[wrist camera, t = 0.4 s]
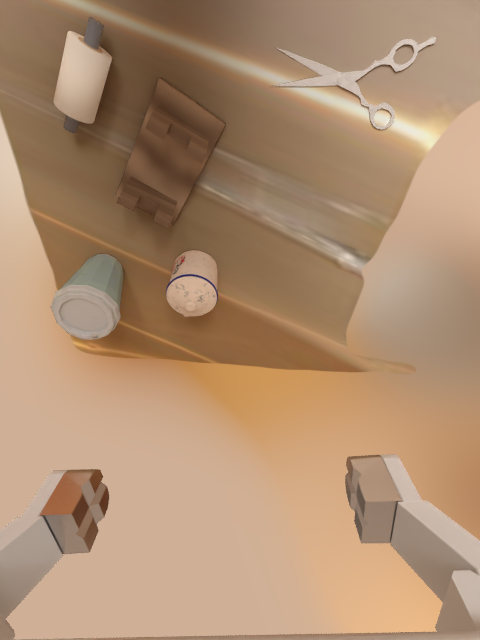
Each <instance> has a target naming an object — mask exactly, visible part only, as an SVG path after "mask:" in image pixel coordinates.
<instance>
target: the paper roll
mask: <svg viewBox="0 0 480 640" xmlns="http://www.w3.org/2000/svg"><path fill="white" fill-rule="evenodd" d="M103 27H104V26H103V25H102V24H101V23H100V22H98V21H97V20H95V19H94V18H92V17H89V20H88V24H87V28H86V33H85V37H84V36H82V35H80V34H78V33H76V32H73V31H68V33H67V38H66V43H65V48H64V52H63V57H62V62H61V67H60V72H59V77H58V82H57V87H56V92H55V96H54V101H53V103H54V105H55V106H56V107H57V108H58V109H59V110H60V111H61V112H63V113H64V114H66V119H65V123H64V128H65V129H66V130H67V131H69V132H72V133H76V132H77V128H78V124H79V121H80V122H83V123H89V124H91V123H94V120H95V117H96V113H97V110H98V106H99V103H100V99H101V96H102V92H103V89H104V85H105V82H106V78H107V75H108V71H109V68H110V64H111V61H112V57H111V56H110V54H109V53H108V52H106V51H105V50H104V49H103V48H102V47H100V46H99V43H100V39H101V35H102V31H103Z"/></svg>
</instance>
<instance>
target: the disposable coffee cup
mask: <svg viewBox="0 0 480 640" xmlns="http://www.w3.org/2000/svg"><path fill="white" fill-rule="evenodd" d="M123 276H124V273H123V268H122V265H121V263H120V262H119V261H118V260H117V259H116V258H114V257H112V256H110V255H108V254H97V255H95V256H93V257H91V258H89V259H88V260H87V261H86V262H85V263H84V265H83V266H82V267H81V268H80V269H79V270H78V271H77V272H76V273H75V274H74V275H73V276H72V277H71V278H70V279H69V280H68V281H67V283H66V284H65V285H64V286H63V287H62V288H61V289H60V290H58V291H57V292H56V293H55V296H54V298H53V301H52V305H51V309H52V312H53V314H54V316H55V319H56V322H57V323H58V324H59V325H60V326H61V327H62V328H63V329H64V330H65V331H66V332H67V333H69V334H71V335H73V336H76V337H78V338H81V339H99V338H102V337H104V336H106V335H109V333H110V332H111V331H113V330H114V328H115V327H116V325H117V323H118V322H119V320H120V318H121V316H120V312H119V311H120V302H121V294H122V285H123Z"/></svg>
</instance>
